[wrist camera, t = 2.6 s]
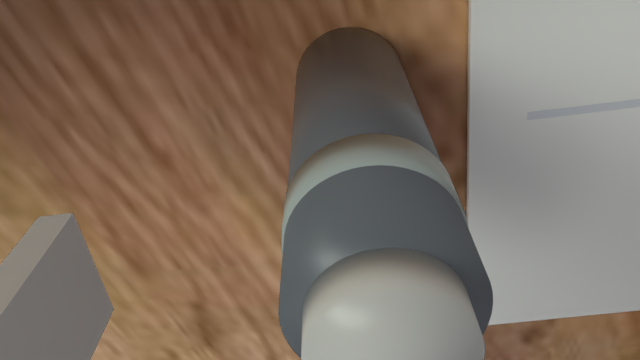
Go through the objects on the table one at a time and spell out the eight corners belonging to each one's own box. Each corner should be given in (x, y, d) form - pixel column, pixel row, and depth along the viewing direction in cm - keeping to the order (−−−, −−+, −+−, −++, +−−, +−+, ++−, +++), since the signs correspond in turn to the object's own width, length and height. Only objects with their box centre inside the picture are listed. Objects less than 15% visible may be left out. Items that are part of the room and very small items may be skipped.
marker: (303, 135, 20) (291, 444, 9) (286, 33, 18) (250, 281, 8) (406, 122, 20) (509, 425, 9) (400, 18, 18) (522, 252, 7)
